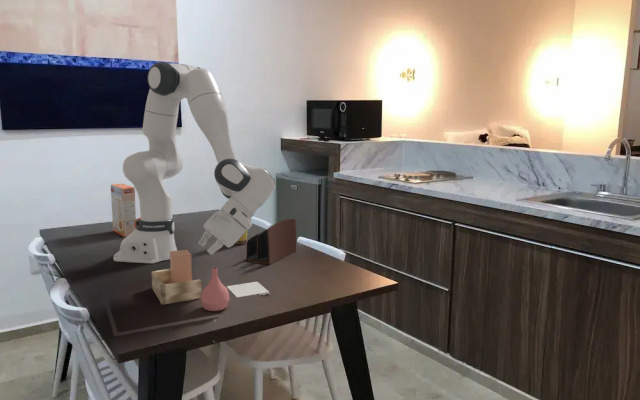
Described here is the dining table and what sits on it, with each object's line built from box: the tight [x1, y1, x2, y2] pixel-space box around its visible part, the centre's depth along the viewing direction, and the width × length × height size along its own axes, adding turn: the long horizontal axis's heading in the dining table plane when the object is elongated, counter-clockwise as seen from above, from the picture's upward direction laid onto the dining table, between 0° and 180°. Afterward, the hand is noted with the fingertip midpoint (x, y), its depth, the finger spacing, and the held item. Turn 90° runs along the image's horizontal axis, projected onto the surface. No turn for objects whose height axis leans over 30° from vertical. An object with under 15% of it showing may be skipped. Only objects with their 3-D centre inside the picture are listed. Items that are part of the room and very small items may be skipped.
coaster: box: [225, 281, 270, 298], centre depth 153 cm, size 10×10×1 cm
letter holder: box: [245, 217, 297, 266], centre depth 188 cm, size 10×20×14 cm, turn 154°
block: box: [169, 249, 193, 284], centre depth 149 cm, size 5×5×12 cm
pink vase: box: [200, 267, 230, 312], centre depth 138 cm, size 8×8×12 cm
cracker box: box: [110, 183, 137, 238], centre depth 218 cm, size 14×6×21 cm, turn 39°
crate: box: [150, 268, 203, 305], centre depth 149 cm, size 11×14×6 cm
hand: (204, 248), depth 151 cm, fingers open, 8 cm apart
